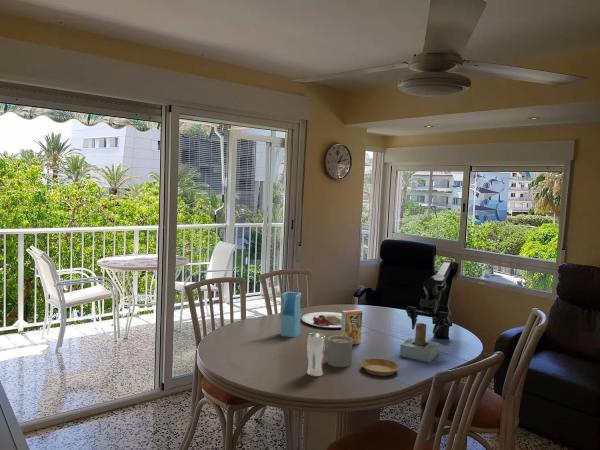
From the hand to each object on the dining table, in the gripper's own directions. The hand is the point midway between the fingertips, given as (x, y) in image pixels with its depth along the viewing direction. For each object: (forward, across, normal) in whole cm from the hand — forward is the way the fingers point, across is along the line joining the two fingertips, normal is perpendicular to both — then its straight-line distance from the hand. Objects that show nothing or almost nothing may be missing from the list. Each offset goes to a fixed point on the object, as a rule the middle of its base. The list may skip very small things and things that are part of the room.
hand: (422, 331), depth 213 cm
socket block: (+9, 0, +5) cm, 10 cm away
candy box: (+13, -31, +2) cm, 34 cm away
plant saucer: (+29, -7, -15) cm, 34 cm away
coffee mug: (+29, -23, -16) cm, 41 cm away
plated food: (-5, -57, +21) cm, 61 cm away
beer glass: (+42, -25, -28) cm, 57 cm away
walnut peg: (+9, 0, +4) cm, 10 cm away
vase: (+17, -60, -3) cm, 63 cm away
